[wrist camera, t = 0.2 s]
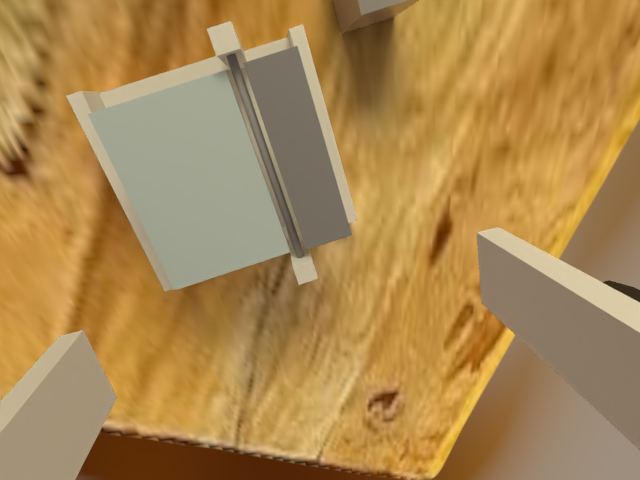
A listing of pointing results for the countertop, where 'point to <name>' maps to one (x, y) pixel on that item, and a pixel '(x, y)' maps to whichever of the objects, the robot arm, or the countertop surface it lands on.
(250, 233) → the trapdoor
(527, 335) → the robot arm
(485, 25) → the countertop surface
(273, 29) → the countertop surface
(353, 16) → the gray rectangular block
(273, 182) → the frame
